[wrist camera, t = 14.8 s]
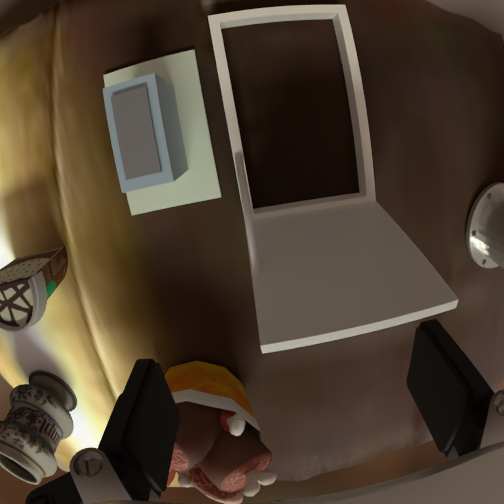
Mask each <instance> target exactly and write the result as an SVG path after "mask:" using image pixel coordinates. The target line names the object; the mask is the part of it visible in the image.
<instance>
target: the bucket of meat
mask: <svg viewBox="0 0 504 504" xmlns="http://www.w3.org/2000/svg"><path fill="white" fill-rule="evenodd" d="M164 377H165V379H166V381H167V384H168V386H169V389H170V391H171V394H172V396H173V398H174V401H175V403H176V405H177V407H178V410H179V413H180V420H179V425H178V430H177V435H176V440H175V445H174V450H173V455H172V460H171V465H170V471H169V476H168V481H167V486H169V485H170V484H171V482H172V481H173V479H174V477H175V473H176V472H177V473H178V475H179V477H178V482H179V483H180V485H181V486H184V487H189V486H191V485H194V486H195V487H196V488H197V489H199V490H200V491H201V492H202V493H204V494H205V495H206V496H208V497H209V498H211V499H214V500H216V501H218V502H221V503H225V504H240V503H241V502H242V501H243V494H244V495H246V496H254V495H255V494H256V493H257V492H258V491H259V490H260V484H262V485H269V484H271V483H273V482H274V481H275V479H276V477H277V474H276V473H275V472H274V471H273V470H266V469H267V468H268V466H269V464H270V462H271V457H272V453H271V451H270V450H269V449H268V448H267V447H266V446H265V445H264V444H263V443H262V442H261V432H260V428H259V425H258V424H257V422H256V420H255V417H254V415H253V412H252V409H251V407H250V404H249V401H248V399H247V396H246V393H245V390H244V388H243V385H242V383H241V382H240V381H239V380H238V379H237V378H236V377H235V376H234V375H233V374H232V373H230V372H229V371H228V370H227V369H226V368H225V367H222V366H218V365H214V364H209V363H205V362H202V361H197V360H196V361H193V362H189V363H185V364H181V365H177V366H173V367H169V369H168V371H167V372H166V374H165V376H164ZM259 483H260V484H259ZM243 488H244V489H243ZM241 489H243V492H242V491H241Z"/></svg>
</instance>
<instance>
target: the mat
mask: <svg viewBox="0 0 504 504" xmlns="http://www.w3.org/2000/svg"><path fill="white" fill-rule="evenodd" d="M153 73H155V74H157V75H158V76H160V77H161V78H163V79H164V80H166V81H167V82H169V83H170V84H172V85H173V86H174V90H175V96H176V102H177V108H178V114H179V120H180V126H181V131H182V137H183V143H184V148H185V153H186V159H187V164H188V169H189V170H188V171H186V172H185V173H184V174H183V175H181V176H180V177H179V178H178V179H176V180H175V181H174V182H170V183H165V184H160V185H156V186H151V187H147V188H142V189H138V190H133V191H129V192H126V194H127V198H128V202H129V206H130V210H131V214H132V215H136V214H141V213H145V212H150V211H154V210H159V209H164V208H168V207H173V206H178V205H183V204H188V203H193V202H198V201H203V200H209V199H214V198H219V197H221V191H220V186H219V181H218V175H217V170H216V165H215V160H214V154H213V149H212V144H211V138H210V133H209V128H208V122H207V117H206V111H205V106H204V100H203V95H202V89H201V84H200V78H199V72H198V67H197V61H196V55H195V50H189V51H185V52H181V53H176V54H172V55H168V56H165V57H161V58H157V59H153V60H150V61H146V62H143V63H140V64H136V65H133V66H130V67H127V68H123V69H120V70H117V71H114V72H112V73H109V74H106V75H104V82H105V88H106V87H109V86H112V85H115V84H118V83H121V82H125V81H128V80H131V79H135V78H138V77H142V76H145V75H149V74H153Z"/></svg>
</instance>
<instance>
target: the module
mask: <svg viewBox="0 0 504 504" xmlns="http://www.w3.org/2000/svg"><path fill="white" fill-rule="evenodd" d="M103 95H104V102H105V108H106V114H107V120H108V126H109V132H110V137H111V143H112V148H113V153H114V158H115V163H116V168H117V172H118V177H119V181H120V186H121V190H122V193H125V192H129V191H133V190H138V189H142V188H147V187H151V186H156V185H160V184H165V183H170V182H174V181H175V180H176V179H178V178H179V177H180V176H181V175H183V174H184V173H185V172H186V171H188V170H189V169H188V164H187V159H186V153H185V148H184V143H183V137H182V131H181V126H180V120H179V114H178V108H177V102H176V96H175V90H174V86H173V85H172V84H170V83H169V82H167V81H166V80H164V79H163V78H161V77H160V76H158V75H157V74H155V73H153V74H149V75H145V76H142V77H138V78H135V79H131V80H128V81H125V82H121V83H118V84H115V85H112V86H109V87H106V88H103Z"/></svg>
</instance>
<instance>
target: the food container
mask: <svg viewBox="0 0 504 504" xmlns="http://www.w3.org/2000/svg"><path fill="white" fill-rule="evenodd" d="M67 265H68V259H67V252H66V249H65V246H64V247H60V248H56V249H52V250H48V251H44V252H40V253H36V254H32V255H29V256H25V257H21V258H17V259H15V260H13V261H12V262H10V263H9V264H8V265H6V266H5V267H3V268H2V269H0V328H1V329H4V330H6V331H11V332H16V331H21V330H25V329H27V328H29V327H30V326H32V325H34V324H35V323H37V322H38V321H39V320H40V319H41V317H42V316H43V314H44V311H45V308H46V304H47V300H48V298H49V297H50V296H51V294H52V293H53V292H54V290H55V289H56V288H57V287H58V285H59V284H60V283H61V281H62V280H63V279H64V277H65V275H66V271H67Z"/></svg>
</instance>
